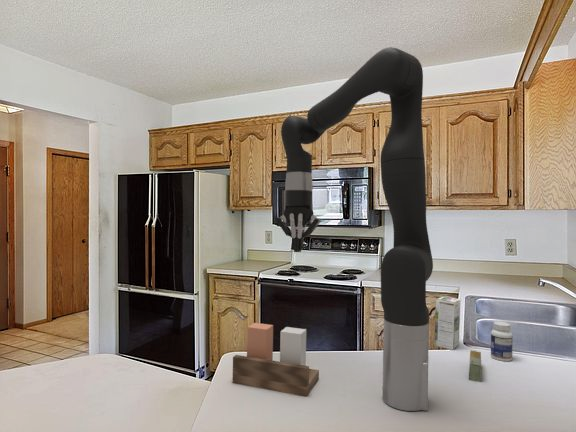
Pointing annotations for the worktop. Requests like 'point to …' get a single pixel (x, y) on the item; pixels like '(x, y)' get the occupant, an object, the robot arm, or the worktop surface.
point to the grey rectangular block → (293, 346)
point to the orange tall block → (260, 341)
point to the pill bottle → (501, 342)
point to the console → (274, 375)
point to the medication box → (475, 366)
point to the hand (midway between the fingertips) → (297, 251)
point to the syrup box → (447, 322)
